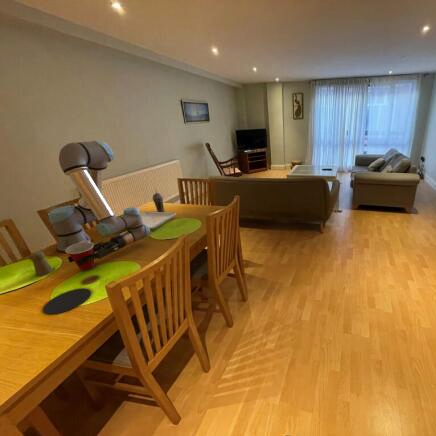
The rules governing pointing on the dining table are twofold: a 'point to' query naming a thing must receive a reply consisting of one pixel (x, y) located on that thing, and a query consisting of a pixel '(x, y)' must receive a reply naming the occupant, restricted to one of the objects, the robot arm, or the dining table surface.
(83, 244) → the plastic cup
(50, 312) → the slate mat
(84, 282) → the cork coaster
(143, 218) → the square plate
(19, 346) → the dining table surface
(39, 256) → the pepper shaker
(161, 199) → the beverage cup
